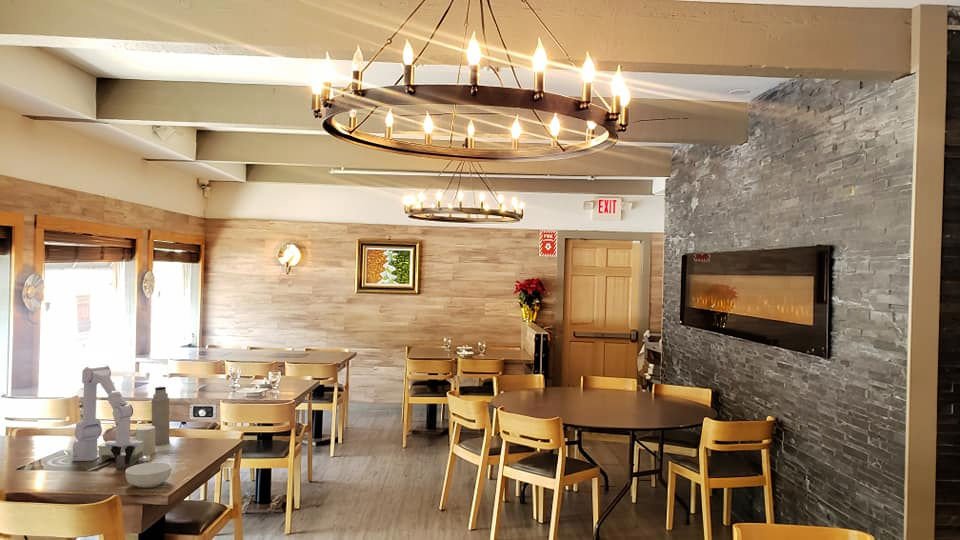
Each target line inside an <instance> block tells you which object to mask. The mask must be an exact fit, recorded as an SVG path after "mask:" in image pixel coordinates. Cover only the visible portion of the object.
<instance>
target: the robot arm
mask: <svg viewBox="0 0 960 540" xmlns="http://www.w3.org/2000/svg"><path fill="white" fill-rule="evenodd" d="M81 374H82V377H81V378H82V379H81V383H82V384H83V400H82V418H81V419H80V420H79V421H78V422H77V423H76V426H75V430H74V437H75V440H74V441H73V443H72V444H73V445H72V460H71V461H72V462H86V461H87V462H88V461H89V462H91V461H92V462H93V461H95V460H97V459H99V454H98V439H99V438H100V436H101V435H102V432H103V428H102V423H101V422H102V421H101V420H99V419H97V391H98V390H97V387H98V384H100V386H101V387H102V389H104V391H105V392H106V394H107V395H108V396H107V397H106V398H107V401H108V403H109V405H110V407H111V408H112V410H113V411H112V416H113V419H114V420H113V422H114V424H115V427H116V442H107V443H105V442H104V443H105V448H107V447H112V449H111V452H112V453H113V455H114V457H115V458H114V460H115V465H117V455H119V454H120V453H121V447H127V448H125V453H126V464H128V463H130V459H131V455H132V453H133V451H134V449H135V447H140V446H141V442H135V441H136V440H131V417H132V416H133V415H134V408H133V405H132V404H131V403H128V402H127V401H126V400H125V398H124V396H123V394H122V393H121V392H120V391H117V389H116V387H115V385H114V383H113V381H112V380H113V379H111V375H112V370H111V368H110V366H109V365H108V364H103V365H96V366H95V365H94V366H87V367H84V368H83V370H82V371H81Z"/></svg>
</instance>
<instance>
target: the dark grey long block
mask: <svg viewBox="0 0 960 540" xmlns="http://www.w3.org/2000/svg"><path fill="white" fill-rule="evenodd" d="M137 460H138V457H132V458H130V463H128V464H126V453H120V454H119V455H117V464H116V470H126V469H127V467H128V466H129V467H131V466H132V465H133V464H135V463H136V462H138V461H137ZM135 461H136V462H135ZM134 462H135V463H134ZM132 463H133V464H132ZM131 464H132V465H131ZM129 467H128V468H129Z"/></svg>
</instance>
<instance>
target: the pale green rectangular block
mask: <svg viewBox="0 0 960 540" xmlns="http://www.w3.org/2000/svg"><path fill="white" fill-rule="evenodd" d="M134 441H135V442H141V446H140V447H135V449H134V451H133V453H132V455H131V457H139V456H143V455H144V442H145V441H136V440H134ZM107 442H116V441H107ZM107 442H105V441H104V443H101V444H100V445H97V449H98V455H99V458H98V463H99V464H102V463H103V462H105V461H107V460H108V459H115V457H114V455H113V453H112V452H111V449H112V447H107V448H105V443H107ZM125 448H127V447H121V453H125Z"/></svg>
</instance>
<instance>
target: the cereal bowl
mask: <svg viewBox="0 0 960 540" xmlns="http://www.w3.org/2000/svg"><path fill="white" fill-rule="evenodd" d="M172 468H173V467H172V465H171V464H169V463H167V462H161V461H159V462H158V461H157V462H154V461H153V462H151V461H150V462H147V463H137V464H135V465H130V466H129V467H128V468H126V469H125V471H124V472H125V479H126V481H127V482H128V483H129V484H130V485H132V486H136V487H138V488H140V487H151V488H155V487H157V486H159V485H160V484H163V483H164V482H166V481H167V480H169V478H170V477H171V474H172ZM154 486H155V487H154Z"/></svg>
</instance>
